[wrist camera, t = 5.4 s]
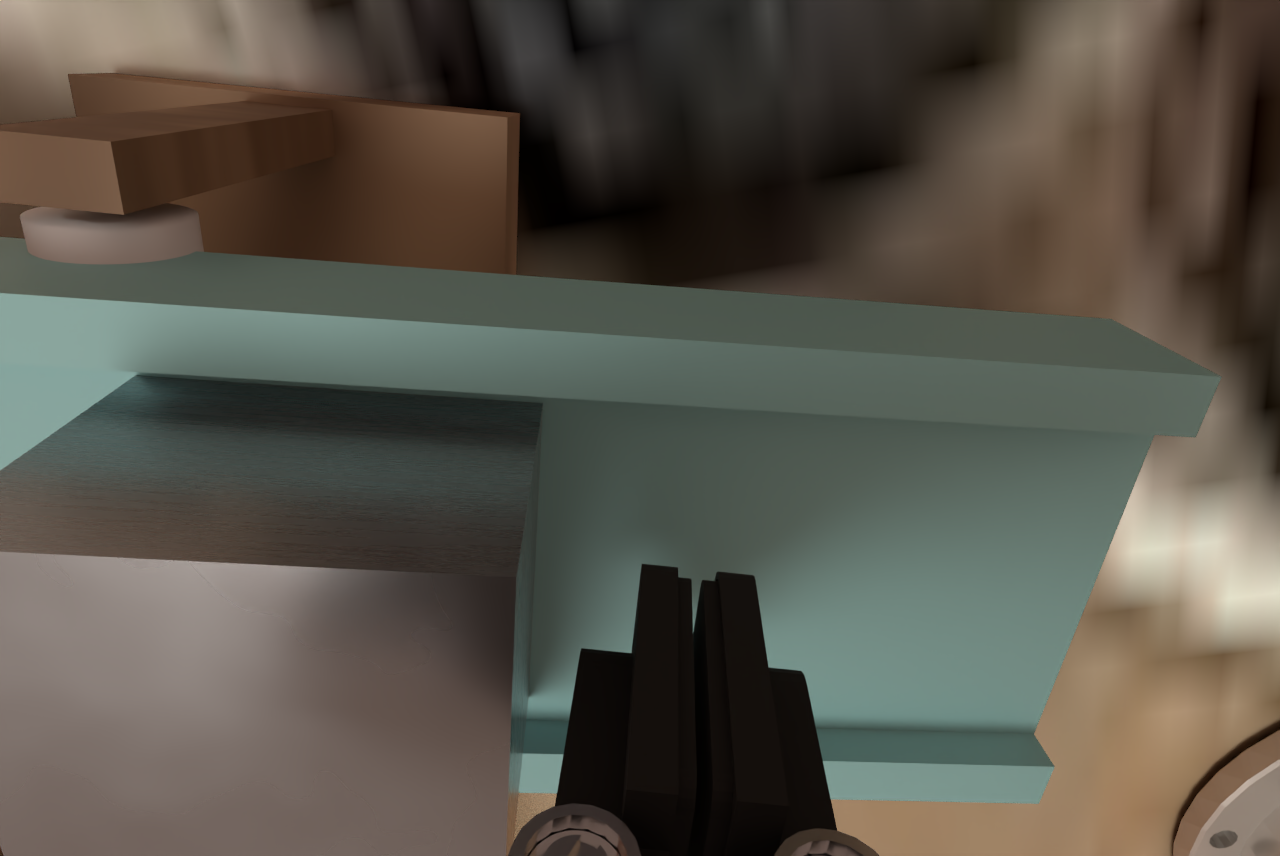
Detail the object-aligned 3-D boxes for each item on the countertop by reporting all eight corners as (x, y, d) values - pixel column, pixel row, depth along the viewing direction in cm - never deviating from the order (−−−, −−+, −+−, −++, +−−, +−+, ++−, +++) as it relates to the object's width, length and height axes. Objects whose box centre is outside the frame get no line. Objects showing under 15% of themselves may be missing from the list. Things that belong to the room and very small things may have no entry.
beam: (1083, 274, 15) (1301, 374, 10) (950, 678, 19) (1063, 878, 15) (-990, 112, 12) (-1960, 149, 8) (-617, 623, 17) (-1095, 849, 12)
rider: (542, 402, 12) (516, 577, 8) (528, 698, 15) (503, 942, 11) (135, 375, 12) (-109, 546, 8) (193, 684, 14) (32, 936, 10)
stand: (519, 113, 19) (395, 155, 11) (509, 559, 25) (422, 813, 16) (111, 73, 19) (-322, 84, 11) (191, 527, 25) (-56, 763, 16)
